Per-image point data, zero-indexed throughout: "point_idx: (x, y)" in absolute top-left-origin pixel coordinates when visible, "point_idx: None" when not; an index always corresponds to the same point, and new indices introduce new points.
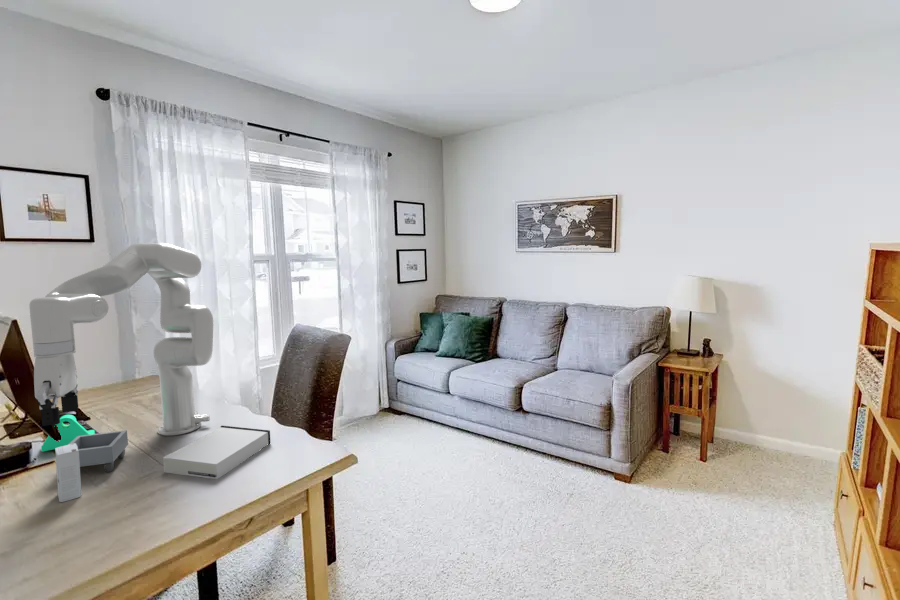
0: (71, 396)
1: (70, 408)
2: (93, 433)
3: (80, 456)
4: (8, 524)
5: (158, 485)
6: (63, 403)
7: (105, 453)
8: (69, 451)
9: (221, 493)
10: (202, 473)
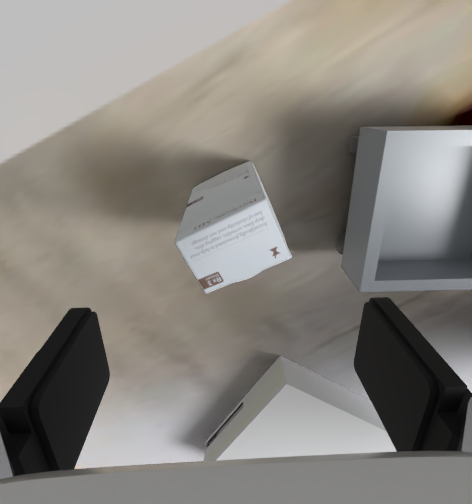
0: (418, 446)
1: (365, 353)
2: None
3: (365, 198)
4: (106, 106)
5: (214, 360)
6: (393, 353)
7: (354, 264)
8: (202, 271)
9: (144, 454)
10: (224, 427)
